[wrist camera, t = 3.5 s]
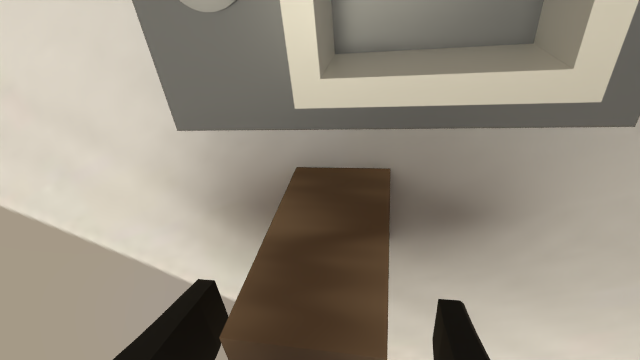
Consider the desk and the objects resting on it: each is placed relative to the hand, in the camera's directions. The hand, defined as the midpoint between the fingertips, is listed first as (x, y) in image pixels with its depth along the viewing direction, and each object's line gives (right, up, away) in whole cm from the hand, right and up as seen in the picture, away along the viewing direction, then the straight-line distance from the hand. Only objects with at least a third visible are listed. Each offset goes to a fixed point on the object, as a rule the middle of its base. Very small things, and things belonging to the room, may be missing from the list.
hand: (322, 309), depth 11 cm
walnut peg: (+1, +3, +4) cm, 6 cm away
